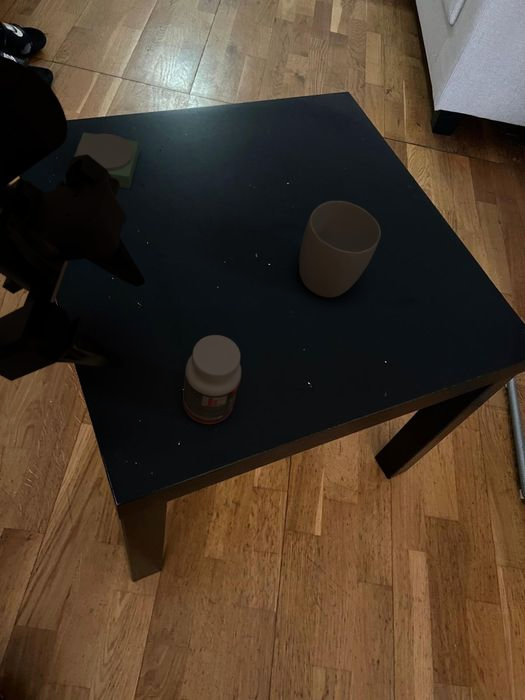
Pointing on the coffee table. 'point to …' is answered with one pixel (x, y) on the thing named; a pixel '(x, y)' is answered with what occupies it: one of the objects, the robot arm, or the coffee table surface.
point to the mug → (337, 247)
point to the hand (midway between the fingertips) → (131, 322)
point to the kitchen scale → (111, 155)
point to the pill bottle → (212, 379)
